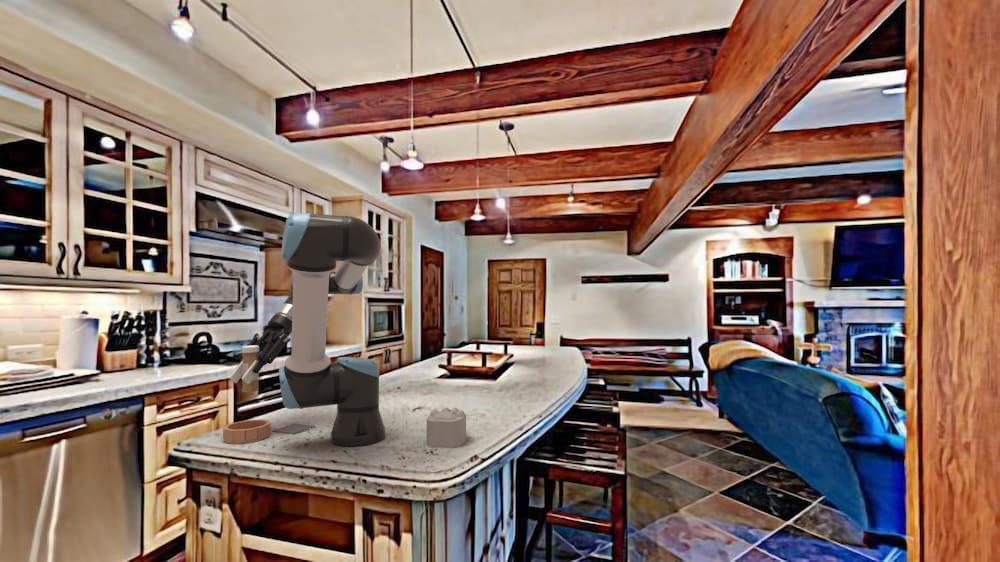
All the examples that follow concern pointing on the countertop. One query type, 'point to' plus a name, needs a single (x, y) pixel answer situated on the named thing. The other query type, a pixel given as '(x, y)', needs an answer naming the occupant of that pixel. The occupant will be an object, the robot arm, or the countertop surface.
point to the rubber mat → (293, 428)
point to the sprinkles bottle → (248, 359)
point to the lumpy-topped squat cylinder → (446, 428)
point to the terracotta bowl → (246, 431)
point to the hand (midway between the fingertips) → (239, 380)
